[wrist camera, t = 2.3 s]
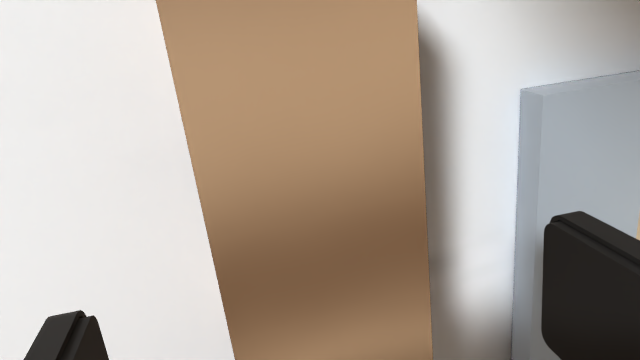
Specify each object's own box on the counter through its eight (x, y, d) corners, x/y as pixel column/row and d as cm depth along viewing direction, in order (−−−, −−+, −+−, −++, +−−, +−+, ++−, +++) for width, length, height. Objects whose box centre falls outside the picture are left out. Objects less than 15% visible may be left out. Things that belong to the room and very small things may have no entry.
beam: (163, -63, 13) (132, -105, 8) (329, -81, 14) (410, -131, 8) (251, 363, 18) (270, 521, 13) (370, 335, 19) (438, 473, 13)
